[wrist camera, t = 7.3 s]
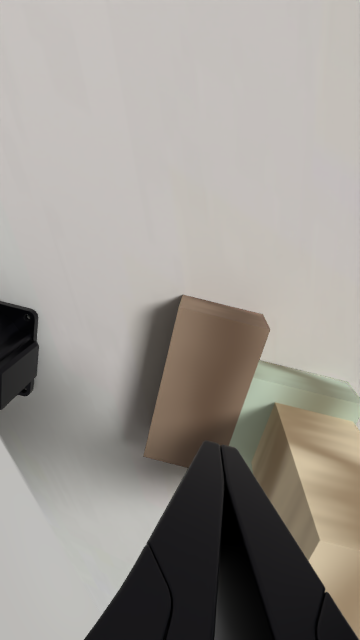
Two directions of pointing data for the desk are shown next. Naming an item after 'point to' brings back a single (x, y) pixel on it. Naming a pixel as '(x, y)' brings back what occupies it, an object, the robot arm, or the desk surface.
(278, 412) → the beech block
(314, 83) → the desk surface
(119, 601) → the robot arm
